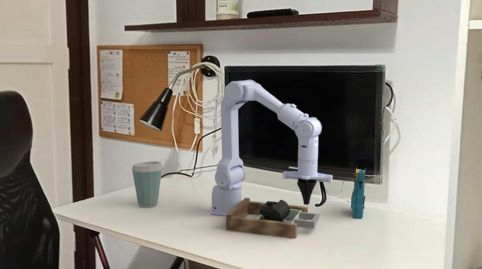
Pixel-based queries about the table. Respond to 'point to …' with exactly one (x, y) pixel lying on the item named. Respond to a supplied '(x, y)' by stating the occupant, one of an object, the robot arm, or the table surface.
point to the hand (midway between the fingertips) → (306, 203)
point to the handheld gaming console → (358, 195)
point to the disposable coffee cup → (147, 182)
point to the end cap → (275, 211)
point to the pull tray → (299, 215)
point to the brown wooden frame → (259, 220)
